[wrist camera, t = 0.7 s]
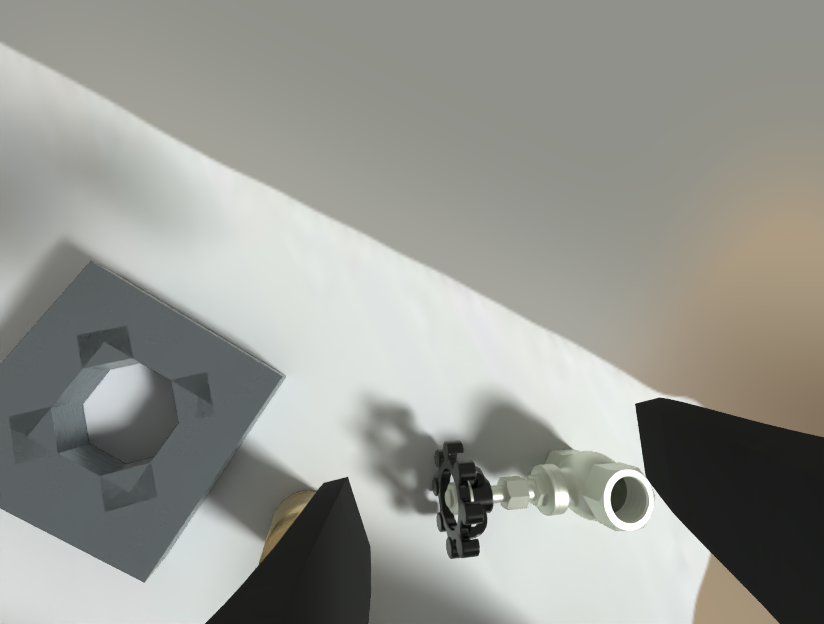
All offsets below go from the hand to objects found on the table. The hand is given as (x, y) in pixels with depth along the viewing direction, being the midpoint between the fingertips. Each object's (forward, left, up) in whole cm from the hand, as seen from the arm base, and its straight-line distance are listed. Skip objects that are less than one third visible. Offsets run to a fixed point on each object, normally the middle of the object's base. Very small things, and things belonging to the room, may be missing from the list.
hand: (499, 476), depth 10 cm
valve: (+1, -11, -19) cm, 22 cm away
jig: (-7, +13, -18) cm, 23 cm away
